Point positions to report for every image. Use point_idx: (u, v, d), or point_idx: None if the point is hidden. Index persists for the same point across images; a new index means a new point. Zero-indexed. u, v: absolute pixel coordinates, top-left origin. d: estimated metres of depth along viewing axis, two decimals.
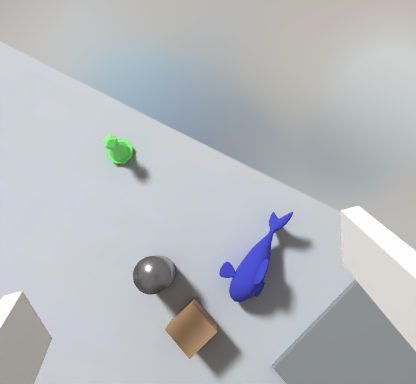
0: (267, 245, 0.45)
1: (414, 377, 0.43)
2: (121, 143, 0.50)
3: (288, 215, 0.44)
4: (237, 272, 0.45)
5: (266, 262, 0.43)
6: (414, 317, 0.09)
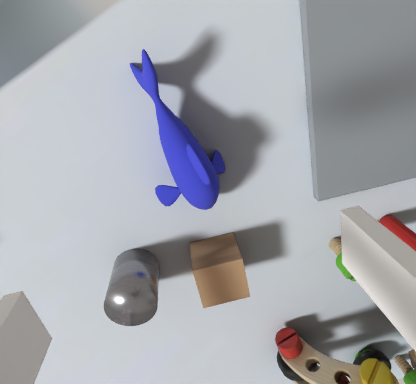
0: (170, 123, 0.26)
1: None
2: None
3: (144, 60, 0.22)
4: (178, 186, 0.28)
5: (191, 150, 0.25)
6: (414, 317, 0.09)
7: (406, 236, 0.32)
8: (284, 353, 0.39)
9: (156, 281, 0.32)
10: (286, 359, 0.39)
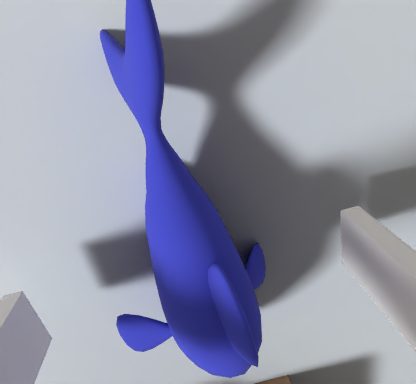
0: (177, 197, 0.10)
1: None
2: None
3: (132, 10, 0.06)
4: (169, 325, 0.12)
5: (223, 287, 0.09)
6: (414, 317, 0.09)
7: None
8: None
9: None
10: None
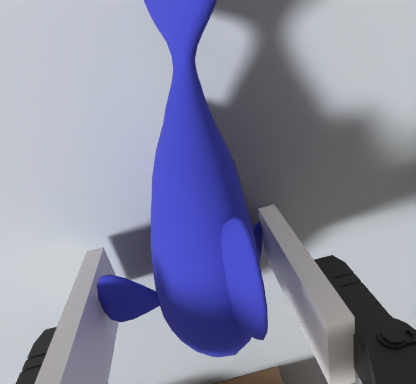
0: (200, 139, 0.09)
1: None
2: None
3: None
4: (158, 293, 0.11)
5: (242, 242, 0.08)
6: (297, 300, 0.11)
7: None
8: None
9: None
10: None
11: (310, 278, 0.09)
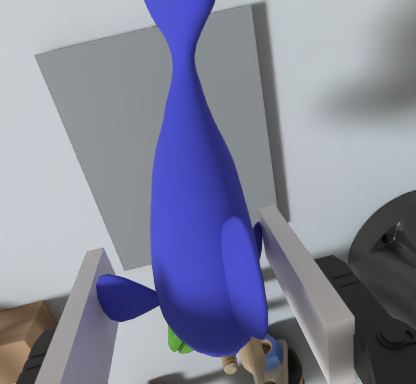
0: (200, 137, 0.09)
1: (238, 99, 0.25)
2: None
3: None
4: (158, 292, 0.11)
5: (242, 241, 0.08)
6: (296, 300, 0.11)
7: None
8: None
9: None
10: None
11: (310, 278, 0.09)
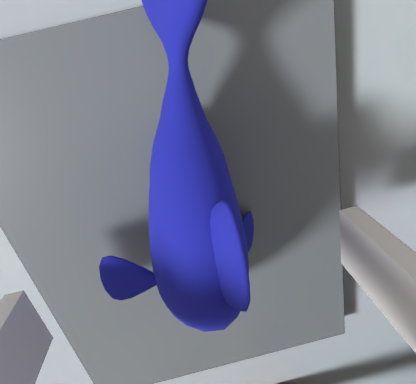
0: (192, 131, 0.10)
1: (295, 138, 0.14)
2: None
3: None
4: (155, 272, 0.12)
5: (228, 222, 0.09)
6: (412, 317, 0.09)
7: None
8: None
9: None
10: None
11: None
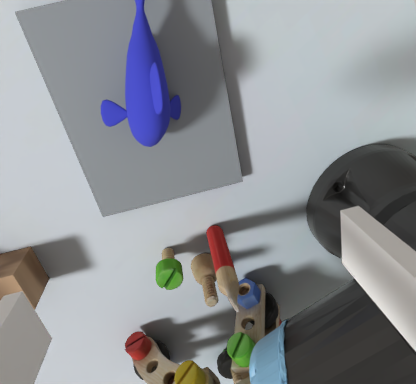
0: (144, 36, 0.24)
1: (198, 55, 0.28)
2: None
3: None
4: (126, 108, 0.26)
5: (155, 70, 0.23)
6: (414, 317, 0.09)
7: (213, 247, 0.34)
8: (131, 356, 0.41)
9: None
10: (134, 361, 0.41)
11: None
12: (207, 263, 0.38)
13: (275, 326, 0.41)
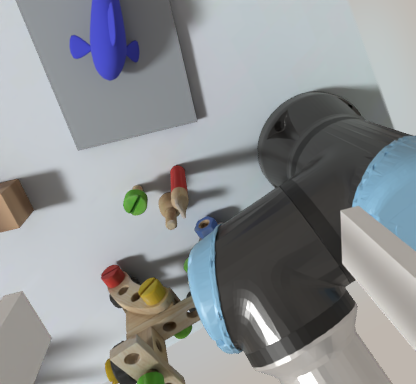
0: None
1: (152, 7, 0.35)
2: None
3: None
4: (90, 42, 0.33)
5: (111, 7, 0.30)
6: (414, 317, 0.09)
7: (172, 178, 0.40)
8: (106, 283, 0.47)
9: None
10: (109, 289, 0.47)
11: None
12: (171, 198, 0.44)
13: None
